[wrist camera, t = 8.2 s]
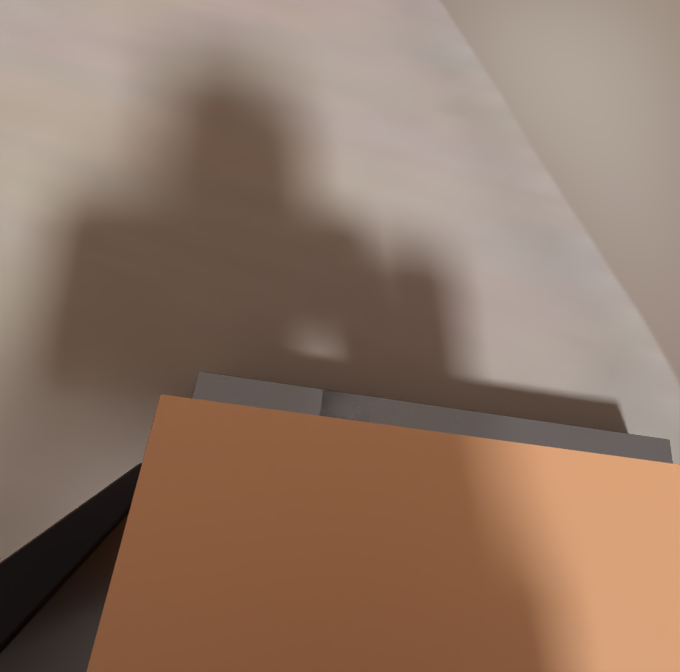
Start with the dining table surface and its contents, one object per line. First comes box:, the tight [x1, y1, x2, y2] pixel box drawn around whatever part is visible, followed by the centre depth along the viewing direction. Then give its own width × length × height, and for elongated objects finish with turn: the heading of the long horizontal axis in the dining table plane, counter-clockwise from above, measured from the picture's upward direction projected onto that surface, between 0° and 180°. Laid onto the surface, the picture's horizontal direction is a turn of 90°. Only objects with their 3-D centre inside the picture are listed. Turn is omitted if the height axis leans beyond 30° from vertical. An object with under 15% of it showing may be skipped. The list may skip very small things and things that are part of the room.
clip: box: [87, 394, 680, 672], centre depth 11 cm, size 7×4×13 cm, turn 83°
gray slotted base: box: [192, 372, 673, 464], centre depth 16 cm, size 20×9×2 cm, turn 83°
